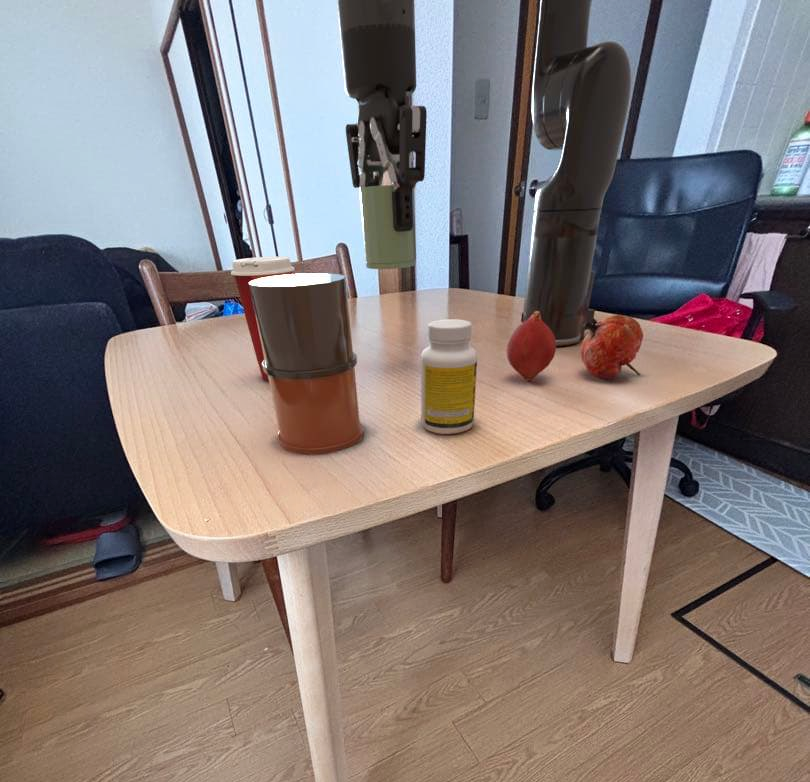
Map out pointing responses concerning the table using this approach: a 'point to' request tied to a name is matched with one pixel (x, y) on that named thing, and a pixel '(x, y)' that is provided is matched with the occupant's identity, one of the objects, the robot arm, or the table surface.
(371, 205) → the green cup
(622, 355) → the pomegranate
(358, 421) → the cup stack
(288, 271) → the paper cup
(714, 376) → the table surface
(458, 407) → the supplement bottle
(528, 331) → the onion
